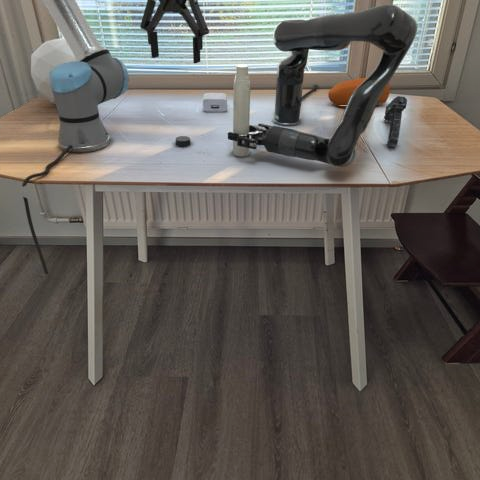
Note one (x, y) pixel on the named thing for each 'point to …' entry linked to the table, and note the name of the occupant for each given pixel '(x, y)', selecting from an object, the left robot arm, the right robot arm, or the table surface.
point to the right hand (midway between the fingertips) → (235, 131)
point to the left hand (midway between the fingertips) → (175, 59)
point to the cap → (182, 141)
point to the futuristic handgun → (395, 118)
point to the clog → (351, 92)
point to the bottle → (241, 107)
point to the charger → (215, 102)
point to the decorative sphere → (49, 64)
